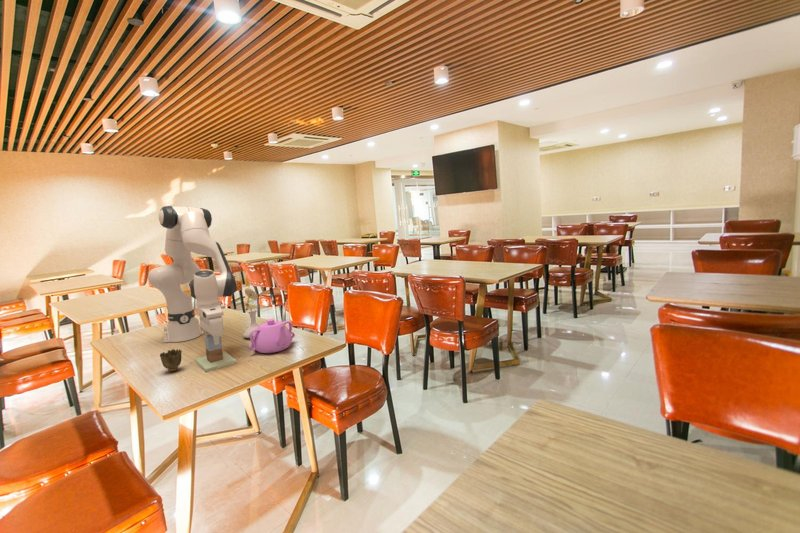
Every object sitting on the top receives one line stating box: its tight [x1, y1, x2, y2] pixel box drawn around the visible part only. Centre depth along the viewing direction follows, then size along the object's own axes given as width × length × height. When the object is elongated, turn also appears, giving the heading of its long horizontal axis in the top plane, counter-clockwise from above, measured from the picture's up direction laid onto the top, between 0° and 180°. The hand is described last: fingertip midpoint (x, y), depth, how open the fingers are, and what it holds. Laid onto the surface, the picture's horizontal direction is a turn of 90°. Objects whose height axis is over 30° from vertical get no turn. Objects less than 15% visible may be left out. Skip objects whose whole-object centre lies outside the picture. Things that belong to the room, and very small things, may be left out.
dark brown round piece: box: [159, 348, 182, 373], centre depth 150 cm, size 8×7×8 cm
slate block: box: [204, 335, 223, 351], centre depth 156 cm, size 5×5×5 cm
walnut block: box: [205, 347, 223, 363], centre depth 157 cm, size 5×5×5 cm
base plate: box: [194, 350, 238, 373], centre depth 157 cm, size 16×12×1 cm
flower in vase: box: [242, 287, 260, 339], centre depth 188 cm, size 13×11×25 cm
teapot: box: [248, 318, 296, 354], centre depth 168 cm, size 22×22×14 cm
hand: (213, 341), depth 156 cm, fingers open, 8 cm apart
